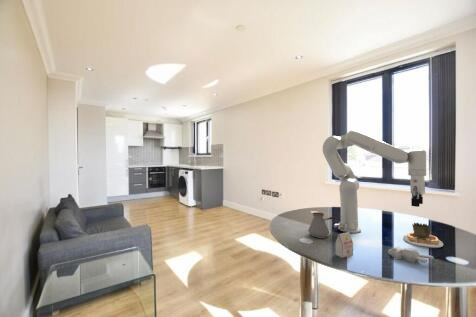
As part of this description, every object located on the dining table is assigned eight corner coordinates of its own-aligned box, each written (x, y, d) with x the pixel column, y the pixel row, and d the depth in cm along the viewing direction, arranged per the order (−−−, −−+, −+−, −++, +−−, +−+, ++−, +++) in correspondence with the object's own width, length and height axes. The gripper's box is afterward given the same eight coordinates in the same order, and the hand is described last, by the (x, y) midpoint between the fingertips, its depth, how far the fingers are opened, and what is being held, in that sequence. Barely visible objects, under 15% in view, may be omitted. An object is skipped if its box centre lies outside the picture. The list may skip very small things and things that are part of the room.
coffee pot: (303, 234, 130) (303, 209, 130) (318, 231, 136) (317, 207, 136) (334, 247, 111) (333, 217, 111) (349, 242, 116) (349, 214, 117)
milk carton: (335, 254, 102) (335, 233, 102) (346, 252, 105) (345, 231, 105) (342, 258, 99) (341, 235, 99) (353, 255, 102) (352, 233, 102)
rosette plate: (425, 249, 106) (425, 243, 106) (395, 238, 122) (395, 232, 122) (452, 246, 109) (451, 240, 109) (419, 235, 125) (419, 230, 125)
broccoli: (426, 243, 111) (426, 227, 111) (409, 239, 117) (409, 223, 117) (433, 240, 114) (433, 225, 114) (417, 236, 121) (416, 221, 121)
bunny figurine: (395, 243, 105) (434, 250, 91) (397, 254, 104) (436, 263, 91) (383, 247, 100) (423, 255, 87) (385, 259, 100) (425, 269, 86)
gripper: (423, 174, 110) (423, 208, 110) (428, 172, 121) (428, 203, 121) (404, 173, 115) (404, 206, 115) (411, 171, 127) (411, 201, 127)
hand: (417, 204), depth 118 cm, fingers open, 9 cm apart
